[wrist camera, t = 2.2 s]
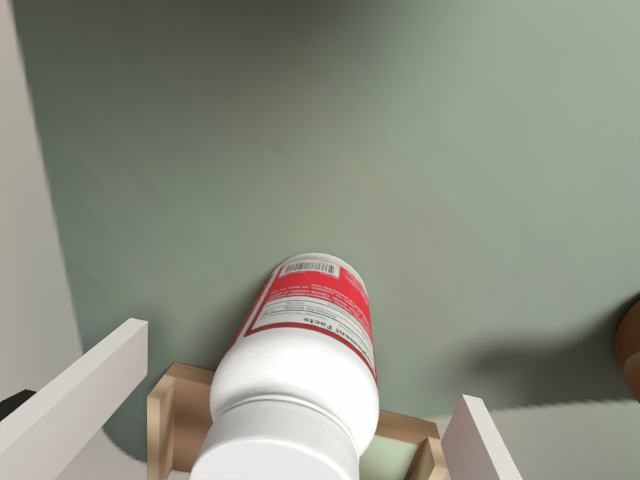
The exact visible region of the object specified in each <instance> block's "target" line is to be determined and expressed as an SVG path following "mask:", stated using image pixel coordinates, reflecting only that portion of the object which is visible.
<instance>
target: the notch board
mask: <svg viewBox="0 0 640 480" xmlns="http://www.w3.org/2000/svg"><path fill="white" fill-rule="evenodd" d="M215 372H216V371H211V370H207V369H203V368H199V367H194V366H190V365H186V364H182V363H177V362H174V363H173V364H172V366H171V367H170V368H169V369H168V371H167V372H166V373H165V375H164V376H163V377H162V378H161V380H160V381H159V382H158V383H157V385H156V386H155V387H154V389H153V390H152V391H151V392H150V394H149V395H148V396H147V480H166V479H167V478H168V476H169V474H170V472H171V470H172V469H176V470H180V471H185V472H189V473H191V470H192V467H193V465H194V463H195V460H196V458H197V456H198V454H199V452H200V450H201V447H202V445H203V443H204V441H205V438H206V436H207V433H208V431H209V429H210V428H211V426H212V425H213V420H212V416H211V411H210V390H211V384H212V381H213V378H214V375H215ZM447 471H448V467H447V464H446V460H445V457H444V454H443V450H442V447H441V440H440V437H439V433H438V430H437V426H436V423H433V422H429V421H425V420H420V419H416V418H412V417H408V416H403V415H399V414H395V413H391V412H386V411H382V410H379V418H378V423H377V428H376V431H375V434H374V436H373V439H372V441H371V442H370V444H369V446H368V447H367V449H366V450H365V451H364V453H363V454H362V455H361V456H360V457H359V480H443V479H444V477H445V475H446V473H447Z"/></svg>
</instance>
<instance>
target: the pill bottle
mask: <svg viewBox="0 0 640 480" xmlns="http://www.w3.org/2000/svg"><path fill="white" fill-rule="evenodd" d="M210 411H211V416H212V420H213V425H212V426H211V428H210V429H209V431H208V433H207V436H206V438H205V441H204V443H203V445H202V447H201V450H200V452H199V454H198V456H197V458H196V460H195V463H194V465H193V467H192V470H191V473H190V478H189V480H359V457H360V456H361V455H362V454H363V453H364V451H365V450H366V449H367V447H368V446H369V444H370V442H371V441H372V439H373V436H374V434H375V431H376V428H377V423H378V418H379V399H378V386H377V377H376V368H375V359H374V349H373V339H372V329H371V320H370V311H369V302H368V296H367V291H366V288H365V285H364V283H363V281H362V279H361V278H360V276H359V275H358V273H357V272H356V271H355V270H354V269H353V268H352V267H351V266H350V265H349V264H347V263H346V262H344V261H343V260H341V259H339V258H337V257H334V256H332V255H328V254H324V253H304V254H300V255H296V256H294V257H291V258H289V259H287V260H286V261H284V262H283V263H281V264H280V265H279V266H278V267H277V268H276V269H275V270H274V271H273V273H272V274H271V275H270V277H269V278H268V280H267V282H266V283H265V285H264V287H263V289H262V291H261V292H260V294H259V296H258V298H257V299H256V301H255V303H254V305H253V306H252V308H251V310H250V312H249V313H248V315H247V317H246V319H245V320H244V322H243V324H242V326H241V327H240V329H239V331H238V332H237V334H236V336H235V337H234V339H233V341H232V343H231V344H230V346H229V348H228V350H227V351H226V353H225V355H224V356H223V358H222V360H221V362H220V364H219V366H218V368H217V370H216V372H215V375H214V378H213V381H212V384H211V390H210Z"/></svg>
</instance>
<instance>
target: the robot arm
mask: <svg viewBox="0 0 640 480" xmlns="http://www.w3.org/2000/svg"><path fill="white" fill-rule="evenodd" d="M147 355H148V322H146V321H142V320H138V319H133V318H129V319H128V320H127V321H126V322H124V323H123V324H122V325H121V326H119V327H118V328H117V329H116V330H114V331H113V332H112V333H111V334H109V335H108V336H107V337H106V338H104V339H103V340H102V341H101V342H99V343H98V344H97V345H96V346H94V347H93V348H92V349H91V350H89V351H88V352H87V353H86V354H84V355H83V356H82V357H81V358H80V359H78V360H77V361H76V362H74V363H73V364H72V365H71V366H70V367H68V368H67V369H66V370H65V371H63V372H62V373H61V374H60V375H58V376H57V377H56V378H55V379H53V380H52V381H51V382H50V383H48V384H47V385H46V386H45V387H44V388H42V389H41V390H40V391H39V392H35V391H31V390H27V389H25V390H24V391H21V392H19V393H17V394H15V395H13V396H11V397H9V398H7V399H5V400H3V401H1V402H0V480H55V479H56V478H57V477H58V476H59V475H60V474H61V473H62V472H63V470H64V469H65V468H66V467H67V466H68V465H69V464H70V462H71V461H72V460H73V459H74V457H76V455H77V454H78V453H79V452H80V451H81V450H82V448H83V447H84V446H85V445H86V444H87V443H88V442H89V441H90V439H91V438H92V437H93V436H94V435H95V433H97V431H98V430H99V429H100V428H101V427H102V426H103V424H104V423H105V422H106V421H107V420H108V419H109V418H110V416H111V415H112V414H113V413H114V412H115V411H116V410H117V408H118V407H119V406H120V405H121V404H122V403H123V402H124V400H125V399H126V398H127V397H128V396H129V395H130V394H131V392H132V391H133V390H134V389H135V388H136V387H137V385H138V384H139V383H140V382H141V381H142V380H143V379H144V377H145V376H146V375H147ZM441 447H442V450H443V454H444V457H445V460H446V464H447V467H448V470H449V474H450V477H451V480H522V478H521V476H520V474H519V472H518V470H517V468H516V466H515V464H514V462H513V460H512V458H511V456H510V454H509V452H508V450H507V448H506V446H505V444H504V442H503V440H502V438H501V436H500V434H499V432H498V430H497V428H496V427H495V424H494V423H493V420H492V419H491V417H490V415H489V413H488V411H487V409H486V407H485V405H484V403H483V401H482V399H481V398H476V397H472V396H468V395H463V394H462V396H461V399H460V401H459V403H458V405H457V408H456V410H455V412H454V414H453V417H452V419H451V421H450V424H449V426H448V428H447V430H446V432H445V434H444V437H443V439H442V441H441Z"/></svg>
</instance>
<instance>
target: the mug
mask: <svg viewBox="0 0 640 480" xmlns="http://www.w3.org/2000/svg"><path fill="white" fill-rule="evenodd" d="M615 352H616V356H617V359H618V362H619V364H620V365H621V367H622V369H623V373H624V377H625V381H626V384H627V387H628V389H629V390H630V392H631V393H632V395H633V396H634V397H635V398H636V400H637V401H638V402H639V403H640V300H639V301H637V302H636V303H635V304H634V305H633V306H632V307H631V308H630V309H629V310H628V312H627V313H626V314H625V316H624V317H623V319H622V320H621V322H620V324H619V326H618V329H617V331H616V336H615Z"/></svg>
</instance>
